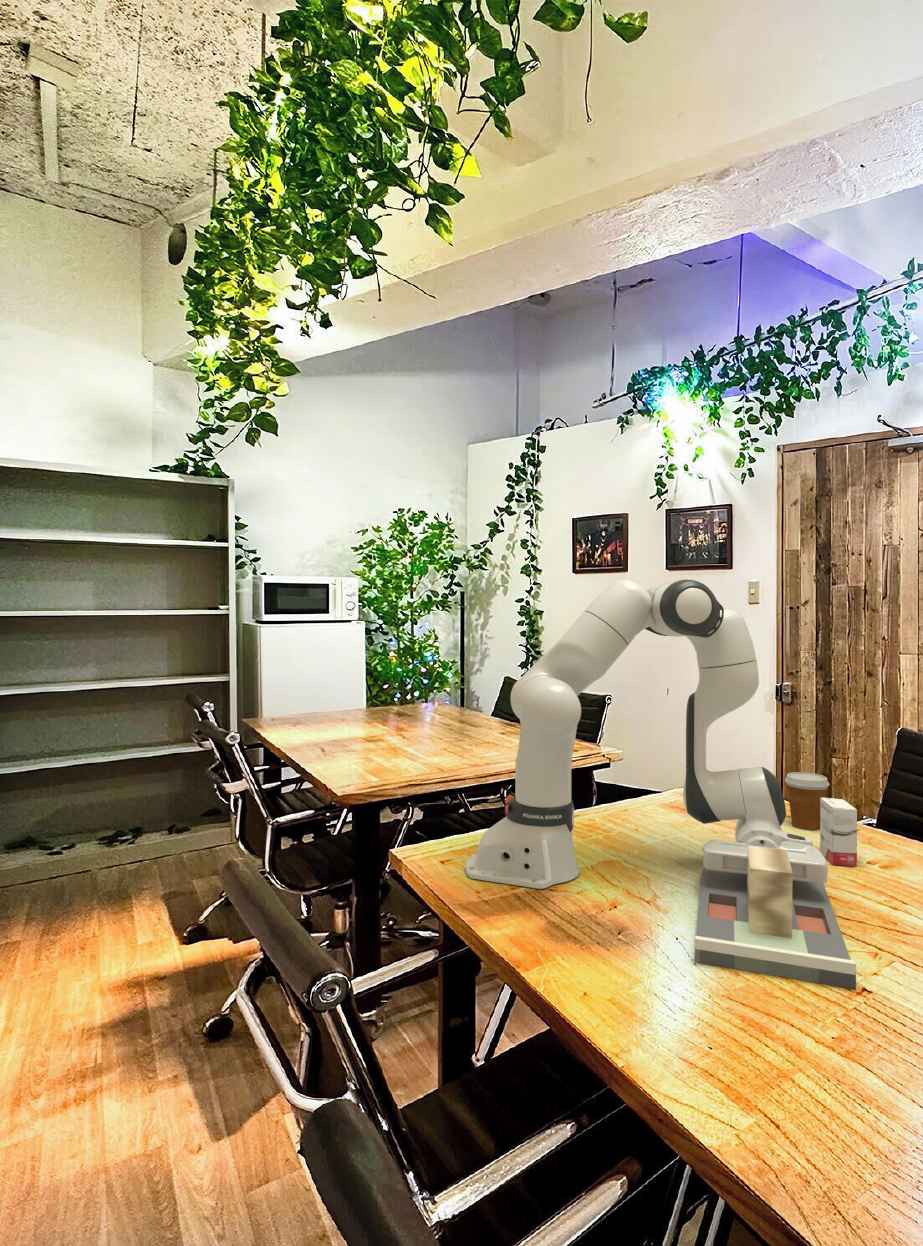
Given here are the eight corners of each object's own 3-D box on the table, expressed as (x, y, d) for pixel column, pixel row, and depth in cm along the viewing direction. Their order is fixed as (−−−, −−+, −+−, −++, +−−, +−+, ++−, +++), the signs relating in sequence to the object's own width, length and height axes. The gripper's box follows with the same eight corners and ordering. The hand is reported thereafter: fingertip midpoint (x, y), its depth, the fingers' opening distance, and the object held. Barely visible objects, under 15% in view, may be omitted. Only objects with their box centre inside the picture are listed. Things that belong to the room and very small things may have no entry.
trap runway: (694, 961, 103) (695, 938, 103) (702, 874, 137) (702, 857, 137) (855, 989, 96) (856, 964, 96) (822, 889, 130) (822, 871, 130)
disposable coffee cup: (775, 822, 170) (776, 773, 170) (807, 818, 173) (807, 770, 173) (805, 834, 161) (806, 782, 161) (838, 830, 164) (838, 779, 164)
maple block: (749, 931, 109) (749, 868, 108) (747, 903, 119) (747, 845, 119) (791, 938, 107) (792, 873, 106) (785, 908, 117) (786, 849, 117)
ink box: (858, 867, 141) (858, 809, 141) (831, 865, 142) (832, 807, 142) (843, 852, 149) (844, 797, 149) (819, 850, 150) (819, 796, 150)
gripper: (702, 827, 134) (700, 850, 121) (821, 839, 127) (832, 866, 114) (702, 859, 135) (700, 886, 122) (820, 874, 127) (832, 904, 114)
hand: (765, 876), depth 118 cm, fingers closed, pressing on maple block
